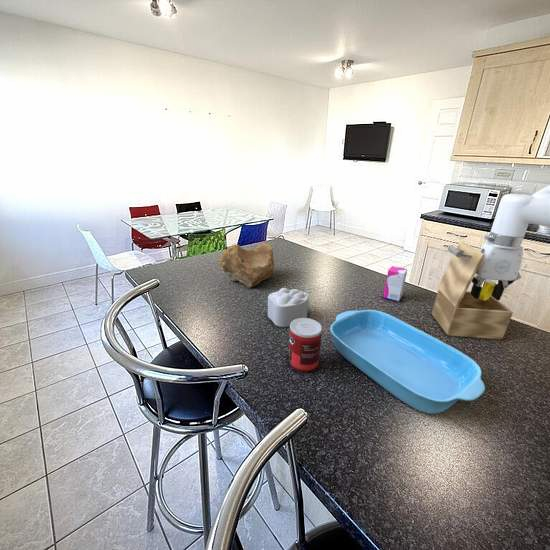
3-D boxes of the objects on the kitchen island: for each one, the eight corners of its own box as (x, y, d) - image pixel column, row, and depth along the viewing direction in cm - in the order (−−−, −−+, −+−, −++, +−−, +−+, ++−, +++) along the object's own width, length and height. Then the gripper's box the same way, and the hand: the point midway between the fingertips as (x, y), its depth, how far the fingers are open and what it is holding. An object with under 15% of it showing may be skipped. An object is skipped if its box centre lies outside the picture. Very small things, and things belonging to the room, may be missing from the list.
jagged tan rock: (232, 297, 109) (233, 261, 102) (216, 278, 121) (216, 244, 114) (284, 286, 120) (289, 253, 113) (265, 269, 133) (268, 238, 126)
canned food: (296, 348, 80) (298, 314, 76) (323, 359, 77) (327, 323, 72) (282, 364, 74) (284, 328, 70) (311, 376, 71) (314, 339, 66)
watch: (484, 304, 86) (491, 285, 84) (474, 300, 88) (480, 282, 86) (493, 298, 89) (499, 281, 87) (483, 295, 91) (489, 278, 89)
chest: (479, 317, 98) (488, 292, 94) (502, 339, 87) (513, 312, 83) (431, 313, 99) (438, 289, 96) (447, 335, 88) (455, 308, 84)
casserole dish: (493, 394, 67) (504, 370, 64) (444, 446, 55) (454, 418, 52) (364, 321, 94) (367, 301, 91) (312, 344, 82) (314, 323, 79)
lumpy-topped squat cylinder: (264, 313, 97) (264, 289, 94) (297, 304, 103) (298, 282, 100) (279, 329, 89) (280, 304, 86) (314, 319, 95) (316, 295, 91)
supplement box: (402, 296, 111) (408, 268, 106) (398, 302, 106) (405, 273, 102) (386, 292, 114) (391, 265, 109) (382, 298, 109) (387, 269, 105)
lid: (462, 241, 89) (445, 237, 89) (485, 254, 77) (466, 250, 77) (439, 288, 96) (424, 284, 96) (457, 307, 84) (439, 303, 84)
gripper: (479, 242, 79) (461, 301, 86) (547, 245, 77) (523, 305, 84) (465, 234, 86) (449, 290, 93) (528, 237, 84) (506, 293, 91)
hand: (484, 296), depth 88 cm, fingers closed on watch, 5 cm apart
